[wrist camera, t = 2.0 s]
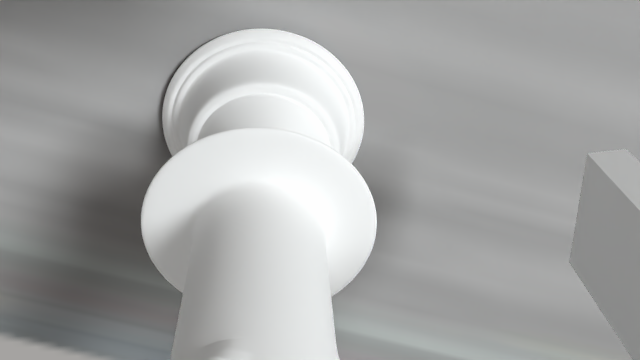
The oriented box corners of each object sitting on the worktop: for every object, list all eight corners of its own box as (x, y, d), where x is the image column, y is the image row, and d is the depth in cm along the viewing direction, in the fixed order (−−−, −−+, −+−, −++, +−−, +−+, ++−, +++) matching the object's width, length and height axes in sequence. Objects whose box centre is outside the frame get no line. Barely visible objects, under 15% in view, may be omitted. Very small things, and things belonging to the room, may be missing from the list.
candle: (362, 19, 14) (559, 517, 4) (363, 198, 17) (483, 748, 7) (144, 33, 14) (-182, 582, 4) (182, 211, 17) (43, 791, 7)
